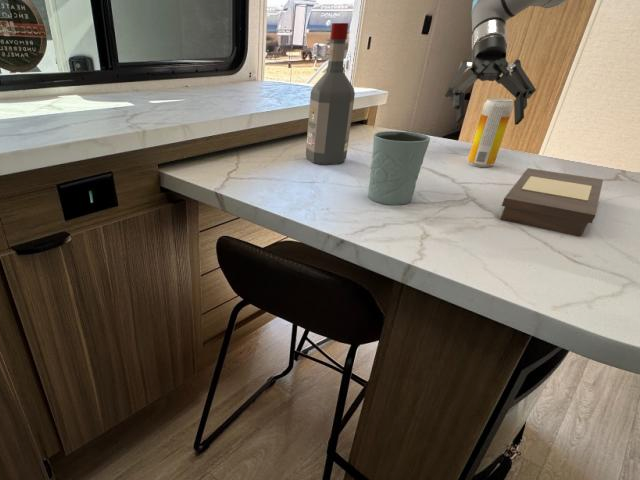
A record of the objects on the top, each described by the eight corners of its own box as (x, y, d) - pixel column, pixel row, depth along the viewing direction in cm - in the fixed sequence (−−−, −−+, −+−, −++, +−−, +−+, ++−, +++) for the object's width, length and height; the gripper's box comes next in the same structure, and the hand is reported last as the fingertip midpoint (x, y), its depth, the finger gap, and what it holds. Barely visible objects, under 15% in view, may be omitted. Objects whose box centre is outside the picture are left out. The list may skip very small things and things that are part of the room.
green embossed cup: (366, 204, 81) (377, 140, 74) (361, 188, 89) (370, 129, 83) (420, 207, 80) (436, 142, 73) (410, 190, 88) (423, 130, 82)
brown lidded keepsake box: (520, 186, 90) (527, 167, 88) (593, 199, 84) (603, 178, 81) (496, 219, 75) (504, 196, 72) (584, 238, 68) (596, 214, 66)
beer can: (492, 162, 106) (513, 98, 98) (493, 169, 102) (516, 102, 93) (466, 160, 108) (485, 97, 100) (466, 166, 104) (486, 100, 96)
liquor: (316, 165, 104) (329, 22, 88) (302, 156, 112) (313, 23, 95) (349, 163, 106) (368, 22, 90) (333, 154, 114) (349, 23, 97)
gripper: (532, 58, 108) (535, 131, 103) (432, 57, 111) (431, 128, 107) (550, 34, 100) (554, 111, 96) (442, 34, 104) (441, 109, 99)
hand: (489, 120), depth 101 cm, fingers open, 13 cm apart
